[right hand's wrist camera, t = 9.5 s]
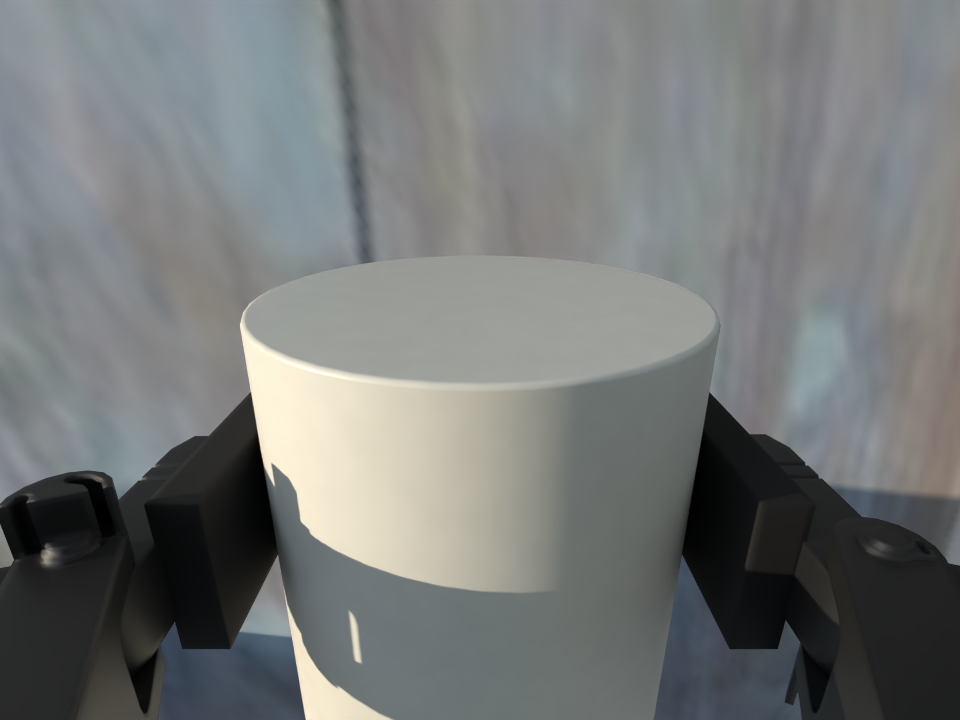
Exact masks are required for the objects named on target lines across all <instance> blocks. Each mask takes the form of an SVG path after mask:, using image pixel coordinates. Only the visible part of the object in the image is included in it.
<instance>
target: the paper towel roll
mask: <svg viewBox="0 0 960 720" xmlns="http://www.w3.org/2000/svg"><path fill="white" fill-rule="evenodd" d="M720 326H721V325H720V322H719V318H718V314H717V312H716V311H715V309H714V308H713V307H712V305H711V304H710V303H709V302H707V301H706V300H705V299H704V298H702V297H701V296H699V295H697V294H696V293H694V292H692V291H690V290H688V289H686V288H684V287H681V286H679V285H677V284H674V283H672V282H669V281H666V280H663V279H660V278H657V277H654V276H650V275H647V274H643V273H639V272H635V271H630V270H626V269H622V268H616V267H611V266H605V265H599V264H592V263H586V262H578V261H569V260H560V259H549V258H535V257H517V256H441V257H424V258H410V259H399V260H390V261H381V262H373V263H366V264H360V265H354V266H348V267H343V268H338V269H333V270H329V271H324V272H320V273H316V274H313V275H309V276H305V277H302V278H299V279H296V280H293V281H290V282H288V283H285V284H283V285H281V286H278V287H276V288H274V289H271V290H269V291H268V292H266V293H264V294H262V295H261V296H259V297H258V298H256V299H255V300H254V301H253V302H251V303H250V304H249V305H248V307H247V308H246V309H245V311H244V312H243V315H242V319H241V323H240V328H241V334H242V340H243V346H244V352H245V358H246V364H247V370H248V376H249V382H250V388H251V394H252V400H253V406H254V412H255V418H256V424H257V430H258V436H259V442H260V448H261V454H262V460H263V466H264V472H265V478H266V484H267V490H268V496H269V502H270V508H271V514H272V520H273V526H274V532H275V538H276V544H277V550H278V556H279V562H280V568H281V574H282V580H283V586H284V592H285V598H286V604H287V610H288V616H289V622H290V628H291V634H292V640H293V646H294V652H295V658H296V664H297V670H298V676H299V682H300V688H301V694H302V700H303V706H304V712H305V718H306V720H654V715H655V709H656V704H657V698H658V692H659V686H660V680H661V674H662V668H663V662H664V656H665V650H666V644H667V639H668V633H669V627H670V621H671V615H672V609H673V603H674V597H675V591H676V585H677V580H678V574H679V568H680V562H681V556H682V550H683V544H684V538H685V532H686V526H687V520H688V515H689V509H690V503H691V497H692V491H693V485H694V479H695V473H696V467H697V461H698V456H699V450H700V444H701V438H702V432H703V426H704V420H705V414H706V408H707V402H708V396H709V391H710V385H711V379H712V373H713V367H714V361H715V355H716V349H717V343H718V337H719V332H720Z"/></svg>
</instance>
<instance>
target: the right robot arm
mask: <svg viewBox="0 0 960 720" xmlns="http://www.w3.org/2000/svg"><path fill="white" fill-rule="evenodd" d="M0 525H1V527H2V530H3V532H4V535H5V537H6V540H7V543H8V545H9V548H10V550H11V553H12V555H13V558H14V561H13V563H12V565H11V566H9V567H4V568H0V720H158V717H159V709H160V701H161V693H162V686H163V678H164V670H165V665H164V658H163V654H162V650H161V647H160V644H161V642H162V641H163V639H164V638H165V636H166V635H167V633H168V631H169V630H170V628H171V627H172V625H173V624H174V622H175V623H176V627H177V631H178V634H179V638H180V642H181V646H182V649H231V647H232V645H233V643H234V641H235V639H236V637H237V635H238V633H239V631H240V629H241V627H242V625H243V623H244V621H245V619H246V617H247V615H248V613H249V611H250V609H251V607H252V605H253V603H254V601H255V599H256V597H257V595H258V593H259V591H260V589H261V587H262V585H263V583H264V581H265V579H266V577H267V575H268V573H269V571H270V569H271V567H272V565H273V563H274V561H275V559H276V557H277V555H278V550H277V544H276V538H275V532H274V526H273V520H272V514H271V508H270V502H269V496H268V490H267V484H266V478H265V472H264V466H263V460H262V454H261V448H260V442H259V436H258V430H257V424H256V418H255V412H254V406H253V400H252V394H251V392H250V393H249V395H248V396H247V397H246V398H245V399H244V400H243V401H242V402H241V403H240V404H239V405H238V406H237V407H236V408H235V409H234V410H233V411H232V412H231V413H230V414H229V416H228V417H227V418H226V419H225V420H224V421H223V422H222V423H221V424H220V425H219V426H218V427H217V428H216V429H215V430H214V431H213V432H212V433H211V434H210V435H209V436H194V437H193V438H191V439H189V440H187V441H185V442H184V443H182V444H180V445H178V446H176V447H174V448H173V449H171V450H170V451H169V452H168V453H167V454H166V455H165V456H164V457H163V458H162V459H161V460H160V461H159V462H158V463H156V464H155V468H151V469H150V470H149V471H148V472H147V473H146V474H145V475H144V476H143V477H142V481H138V482H137V483H136V484H135V485H134V486H133V487H132V488H131V489H130V490H128V491H127V492H126V493H125V494H124V495H123V496H122V497H121V498H120V499H119V500H118V497H117V493H116V490H115V487H114V483H113V480H112V477H110V476H108V475H107V474H105V473H104V472H96V471H79V472H69V473H65V474H61V475H57V476H53V477H49V478H46V479H43V480H41V481H38V482H36V483H33V484H31V485H28V486H26V487H24V488H22V489H20V490H19V491H17V492H15V493H14V494H12V495H10V496H9V497H7V498H6V499H5V500H4V501H3V502H2V503H1V504H0ZM682 555H683V557H684V559H685V561H686V563H687V565H688V567H689V569H690V571H691V573H692V575H693V577H694V579H695V581H696V583H697V585H698V587H699V589H700V591H701V593H702V595H703V597H704V599H705V601H706V603H707V605H708V607H709V609H710V611H711V613H712V615H713V617H714V619H715V621H716V623H717V625H718V627H719V629H720V631H721V633H722V635H723V637H724V639H725V641H726V643H727V645H728V647H729V649H778V646H779V642H780V638H781V635H782V631H783V627H784V623H785V620H786V621H787V622H788V624H789V625H790V627H791V628H792V630H793V632H794V633H795V635H796V636H797V638H798V639H799V641H800V642H801V643H800V647H799V650H798V654H797V657H796V661H795V664H794V668H793V671H792V675H791V678H790V682H789V685H788V689H787V693H786V699H785V703H788V704H791V705H793V704H794V700H795V697H796V694H797V693H798V692H799V699H800V707H801V715H802V720H960V566H958V565H953V564H949V563H948V562H947V560H946V559H945V557H944V556H943V555H942V554H941V553H940V552H939V550H938V549H937V548H936V547H935V546H934V545H932V544H931V543H930V542H928V541H927V540H925V539H924V538H922V537H921V536H920V535H918V534H916V533H914V532H912V531H909V530H907V529H905V528H903V527H901V526H899V525H896V524H893V523H889V522H886V521H883V520H879V519H874V518H866V517H861V516H860V515H859V514H858V513H857V512H856V511H855V510H854V509H853V508H852V507H851V506H850V505H849V504H848V503H847V502H846V501H845V500H844V499H843V498H842V497H841V496H840V495H838V494H837V493H836V492H835V491H834V490H833V489H832V488H831V487H830V486H829V485H828V484H827V483H826V482H825V481H824V480H823V479H819V477H818V474H817V473H815V472H814V471H813V470H812V469H811V468H810V467H809V466H805V462H804V461H803V460H802V459H801V458H800V457H799V456H798V455H797V454H796V453H795V452H794V451H792V450H791V449H790V448H789V447H788V446H786V445H784V444H782V443H780V442H778V441H777V440H775V439H773V438H771V437H769V436H767V435H766V434H749V433H748V432H747V431H746V430H745V429H744V428H743V427H742V426H741V425H740V424H739V423H738V422H737V421H736V420H735V419H734V418H733V417H732V415H731V414H730V413H729V412H728V411H727V410H726V409H725V408H724V407H723V406H722V405H721V404H720V403H719V402H718V401H717V400H716V399H715V398H714V397H713V396H712V394H711V393H710V392H709V396H708V402H707V408H706V414H705V420H704V426H703V432H702V438H701V444H700V450H699V456H698V461H697V467H696V473H695V479H694V485H693V491H692V497H691V503H690V509H689V515H688V520H687V526H686V532H685V538H684V544H683V550H682Z"/></svg>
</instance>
